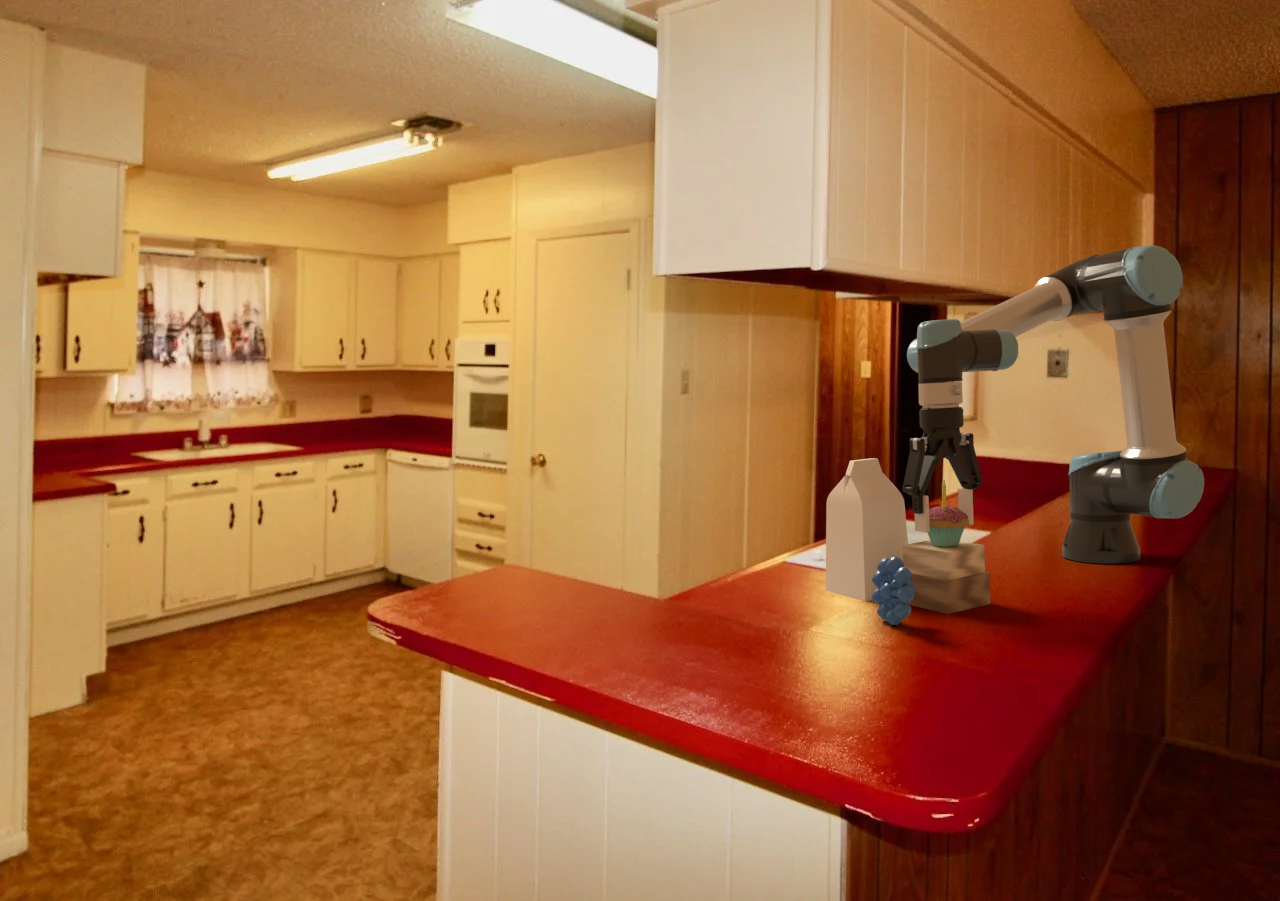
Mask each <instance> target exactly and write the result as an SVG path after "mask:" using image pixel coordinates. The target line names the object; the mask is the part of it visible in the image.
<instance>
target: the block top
mask: <svg viewBox="0 0 1280 901" xmlns="http://www.w3.org/2000/svg"><path fill="white" fill-rule="evenodd" d="M985 553H986V552H985V544H980V543H975V542H974V543H973V542H966V541H961V540H960V542H959V545H958V546H952V547H940V546H934V545H932V544H931V541H930V539H929V540H923V541H918V542H912V543H908V544H907V545H903V563H904V567H906V568H908V569H909V570H910V572H911V573H912V574H915V575H920V576H925V577H930V578H935V579H940V580H945V581H948V580H953V579H958V578H962V577H967V576H971V575H976V574H980V573H985V572H986V564H985V561H986V559H985V558H986V557H985Z"/></svg>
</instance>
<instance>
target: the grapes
mask: <svg viewBox="0 0 1280 901" xmlns="http://www.w3.org/2000/svg"><path fill="white" fill-rule="evenodd" d="M877 569H878V570H879V571H877V572H876V573H875V574H874V575H873V577H872V582H873V583H874V585H875V586H876V587H879V588H877V589H876V590H875V591H874V592H873V594H872V597H871V598H872V599H873V600H872V601H873V602H874V603H875V604H876V605H878V608H877V610H876V614H877V615H878V616H879V618H880V619H882V620H884V621H887V622H888V624H889V625H890V626H893V625H896V626H898V625H900V624H901V622H902V620H906V619H907V618H908V617H909V616H910V614H911V612H912V607H911V605H909V604H908V603H909V602H910V601H912V599H913V598H914V596H915V586H914V584H913V583H912V582H911V581H910V580H911V578H912V573H911V572H910V570H909V569H908V568H906V567H904V563H903V561H902V560H901V559H900V558H899V557H896V556H895V557H892V558H891V559H889V558H884V559H882V560H881V561H880V563H879V564H878V567H877Z"/></svg>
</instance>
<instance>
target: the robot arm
mask: <svg viewBox="0 0 1280 901" xmlns="http://www.w3.org/2000/svg"><path fill="white" fill-rule="evenodd" d="M1183 278H1184V277H1183V272H1182V268H1181V265H1180V263H1179V261H1178V260H1177V258H1176V256H1174V254H1173V253H1170V251H1169V250H1168V249H1166V248H1164V247H1162V246H1159V245H1144V246H1143V245H1141V246H1133V247H1130V248H1126V249H1120V250H1115V251H1110V252H1105V253H1100V254H1094V255H1090V256H1086V257H1084V258H1081V259H1078V260H1077V261H1076V260H1075V261H1074V262H1073V263H1069V264H1068V265H1066V266H1064V267H1062V268H1060V269H1058V270H1056V271H1054V272H1053V273H1050V274H1049V275H1047V276H1045V277H1042V278H1041V279H1039V280H1037V281H1036V282H1035V284H1034V286H1033V288H1031V289H1028V290H1026V291H1024V292H1022V293H1020V294H1017V295H1016V296H1013V297H1010V298H1009V299H1007V300H1005V301H1003V302H1001V303H999V304H996V305H995V306H992V307H990V308H988V309H986V310H984V311H982V312H980V313H978V314H975V315H973V316H971V317H969V318H966V319H965V320H962V321H961V322H960V320H958V319H953V318H952V319H949V318H948V319H935V320H927V321H923V322H920V324H918V325H917V332H916V338H915V339H914V340H912V341H911V342H910V344H908V345H909V346H908V347H907V351H906V360H907V363H908V365H909V366H910V368H911V369H912V370H913V371H914V372H915V373H917V374H918V376H917V377H918V404H919V406H922V408H920V410H919V411H918V412H919V428H920V429H922V430H923V435H922V437H911V438H910V439H909V454H908V459H907V463H906V464H907V465H906V469H905V474H904V475H905V476H904V478H903V484H902V489H901V490H902V493H906V494H907V495H909V496H911V502H912V506H911V507H912V513H913V514H914V531H915V532H919V533H921V532H922V533H927V532H930V529H929V509H930V506H929V505H930V504H929V503H930V502H929V500H930V498H929V495H925V494H926V491H927V489H928V487H929V484H930V481H931V479H932V476H933V474H934V473H935V472H934V471H935V469H936V467H937V464H938V463H940V461H941V460H942V459H945V460H948V462H949V464H950V466H951V468H952V470H953V472H954V474H955V476H956V478H957V480H958V482H959V484H960V486H961V487H960V488H957V498H958V499H957V501H958V502H957V504H958V507H957V508H959V510H961V511H963V512H964V513H966V515H968V520H969V525H968V526H971V525H972V526H973V525H974V506H975V490H978V489H979V488H980V485H982V484H983V481H984V480H983V475H982V473H981V468H980V465H979V461H978V457H977V454H976V450H975V445H974V443H975V442H974V434H973V433H972V432H961V431H960V430H961V429H960V428H963V427H964V423H965V422H964V408H963V407H961V406H960V404H962V403H963V402H964V401H963V397H964V396H963V373H971V372H972V373H973V372H998V371H1003V370H1008V369H1009V368H1011V367H1012V366H1013V365H1014V364H1015V363H1016V361H1017V359H1018V357H1019V343H1018V340H1017V337H1019V336H1021V335H1023V334H1025V333H1027V332H1029V331H1031V330H1033V329H1036V328H1037V327H1039V326H1042V325H1043V324H1045V323H1047V322H1051V321H1052V322H1060V321H1063V320H1065V319H1067V318H1070V317H1073V316H1077V315H1083V314H1089V313H1103V314H1102V315H1103V321H1104V323H1106V324H1107V325H1108V326H1109V327H1111V328H1112V329H1113V331H1114V332H1113V333H1114V340H1115V341H1114V342H1115V350H1116V356H1117V357H1116V358H1117V366H1118V375H1119V385H1120V390H1121V391H1120V392H1121V399H1122V400H1121V401H1122V410H1123V417H1124V419H1123V420H1124V425H1125V426H1124V429H1125V435H1126V436H1125V437H1126V442H1127V445H1126V446H1125V447H1124V448H1123V450H1114V451H1104V452H1095V453H1094V452H1093V453H1084V454H1076V455H1073V456H1072V457H1071V459H1070V461H1069V469H1068V487H1069V488H1068V490H1069V493H1068V494H1069V514H1070V516H1069V517H1070V518H1069V519H1070V520H1069V525H1068V528H1067V531H1066V532H1065V533H1066V534H1065V536H1064V540H1063V543H1062V548H1061V555H1062V557H1063V558H1064V559H1067V560H1069V561H1070V560H1071V561H1075V562H1080V563H1091V564H1108V565H1109V564H1110V565H1111V564H1125V563H1134V562H1138V561H1139V560H1140V559H1141V547H1140V545H1139V543H1138V540H1137V537H1136V533H1135V531H1134V528H1133V527H1132V522H1131V514H1132V515H1139V516H1146V517H1154V518H1155V519H1173V520H1174V519H1181V518H1183V517H1185V516H1187V515H1189V514H1190V513H1192V512H1193V511H1194V509H1195V508H1196V507H1197V505H1198V503H1199V502H1200V501H1201V498H1202V495H1203V493H1204V487H1205V477H1204V473H1203V470H1202V468H1201V467H1199V465H1198V464H1197V463H1195V462H1193V461H1192V460H1188V454H1187V448H1186V447H1185V446H1184V445H1182V444H1181V443H1180V442H1178V441H1177V434H1176V427H1175V426H1176V425H1175V417H1174V408H1173V398H1172V397H1173V396H1172V390H1171V380H1170V371H1169V363H1168V362H1169V361H1168V352H1167V345H1166V344H1167V342H1166V335H1165V327H1164V322H1165V320H1166V319H1167V318H1168V316H1169V315H1170V314H1171V313H1172V307H1171V306H1172V303H1173V302H1175V301H1176V300H1177V299H1178V297H1179V296H1180V295H1181V290H1182V288H1183V283H1184V282H1183V281H1184V279H1183ZM927 534H928V533H927Z"/></svg>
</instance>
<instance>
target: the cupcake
mask: <svg viewBox="0 0 1280 901" xmlns="http://www.w3.org/2000/svg"><path fill="white" fill-rule="evenodd" d="M941 495H942V496H941V498H942V500H941V506H940V505H939V506H937V505H936V506H934V507H931V508H930V507H929V529H930V532H927V535H928V538H929V540H930V541H931V544H932V545H934V546H940V547H952V546H958V545H959V542H960V541H961V538H962V535H963V533H964V530H965V528H966V527H968V526H970V525H969V520H968V515H966V513H964V512H963V511H961V510H959V508H958V507H956V506H949V505H947V484H946V481H945V480H943V483H942V484H941Z"/></svg>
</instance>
